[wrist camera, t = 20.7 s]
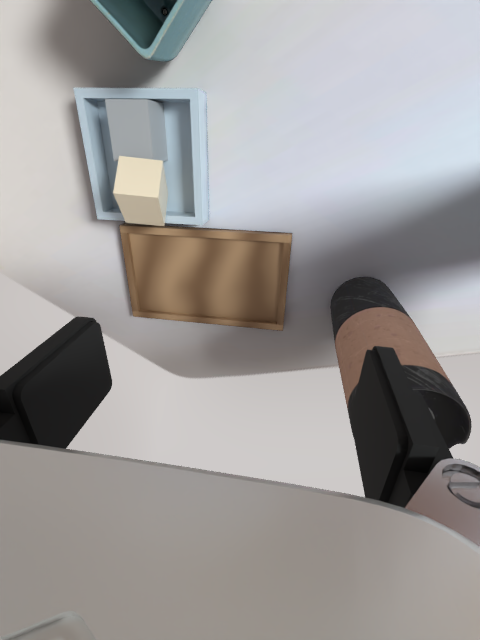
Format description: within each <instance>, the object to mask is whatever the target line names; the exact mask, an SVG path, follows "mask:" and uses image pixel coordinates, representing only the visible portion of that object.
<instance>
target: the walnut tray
mask: <svg viewBox="0 0 480 640" xmlns="http://www.w3.org/2000/svg"><path fill="white" fill-rule="evenodd" d="M119 227H120V234H121V240H122V247H123V253H124V260H125V266H126V273H127V279H128V286H129V292H130V299H131V306H132V312H133V316H135V317H145V318H156V319H166V320H176V321H187V322H197V323H208V324H218V325H228V326H239V327H249V328H260V329H270V330H281V331H283V323H284V313H285V303H286V292H287V282H288V272H289V261H290V251H291V241H292V233H281V232H264V231H246V230H229V229H212V228H195V227H178V226H157V225H144V224H127V223H124V224H121V225H119Z"/></svg>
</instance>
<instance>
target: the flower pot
mask: <svg viewBox="0 0 480 640" xmlns="http://www.w3.org/2000/svg"><path fill="white" fill-rule="evenodd" d="M90 1H91V2H92V3H93V4H94V5H95V6H96V8H97V9H98V10H99V11H100V12H101V13H102V14H103V15H104V16H105V17H106V18H107V19H108V20H109V21H110V22H111V24H112V25H113V26H114V27H115V28H116V29H117V30H118V31H119V32H120V33H121V35H122V36H123V37H124V38H125V39H126V40H127V41H128V42H129V43H130V44H131V46H132V47H133V48H134V49H135V50H136V51H137V52H138V54H139V55H141V56H142V57H143V58H144V59H148V60H156V61H170V60H172V59H174V58H175V57H176V56H177V55H178V53H179V52H180V50H181V49H182V47H183V46H184V44H185V42H186V41H187V39H188V38H189V36H190V34H191V33H192V31H193V30H194V28H195V26H196V25H197V23H198V22H199V20H200V19H201V17H202V15H203V14H204V12H205V11H206V9H207V7H208V6H209V4H210V3H211V1H212V0H90ZM163 8H166V9H167V15H163V13H162V10H163Z"/></svg>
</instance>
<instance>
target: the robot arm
mask: <svg viewBox="0 0 480 640" xmlns="http://www.w3.org/2000/svg"><path fill="white" fill-rule="evenodd" d="M111 386H112V379H111V374H110V369H109V365H108V360H107V355H106V350H105V346H104V341H103V336H102V331H101V327H100V324H99V323H97V322H96V320H95V319H93V318H87V317H75V318H74V319H73V320H71V321H70V322H69V323H68V324H66V325H65V326H64V327H62V328H61V329H60V330H59V331H57V332H56V333H55V334H53V335H52V336H51V337H50V338H48V339H47V340H46V341H45V342H43V343H42V344H41V345H39V346H38V347H37V348H36V349H34V350H33V351H32V352H31V353H29V354H28V355H27V356H25V357H24V358H23V359H22V360H20V361H19V362H18V363H17V364H15V365H14V366H13V367H12V368H10V369H9V370H8V371H6V372H5V373H4V374H2V375H1V376H0V640H480V467H478V466H476V465H474V464H472V463H470V462H467V461H464V460H461V459H453V457H452V455H451V453H450V451H449V449H448V447H447V445H446V443H445V440H444V438H443V436H442V434H441V432H440V430H439V428H438V426H437V424H436V422H435V420H434V418H433V416H432V414H431V412H430V410H429V408H428V406H427V404H426V402H425V400H424V398H423V396H422V394H421V393H420V392H419V391H417V390H413V389H412V387H411V385H410V382H409V380H408V378H407V376H406V374H405V372H404V369H403V367H402V365H401V363H400V361H399V359H398V356H397V354H396V352H395V350H394V348H392V347H382V346H374V347H373V349H372V350H367V351H366V354H365V358H364V362H363V366H362V370H361V374H360V378H359V382H358V386H357V390H356V394H355V398H354V402H353V406H352V411H351V424H352V429H353V434H354V439H355V445H356V450H357V455H358V461H359V466H360V471H361V476H362V482H363V487H364V492H365V498H364V497H360V496H355V495H351V494H346V493H340V492H335V491H329V490H323V489H317V488H312V487H306V486H301V485H295V484H289V483H283V482H277V481H271V480H264V479H258V478H251V477H245V476H239V475H233V474H226V473H221V472H214V471H207V470H202V469H195V468H189V467H182V466H176V465H169V464H162V463H157V462H149V461H143V460H137V459H130V458H124V457H117V456H111V455H104V454H97V453H90V452H84V451H77V450H70V449H66V448H67V446H68V445H69V444H70V442H71V441H72V440H73V438H74V437H75V435H77V433H78V432H79V431H80V429H81V428H82V427H83V425H84V424H85V423H86V421H87V420H88V419H89V417H90V416H91V415H92V413H93V412H94V411H95V410H96V408H97V407H98V406H99V404H100V403H101V401H102V400H103V399H104V398H105V396H106V395H107V394H108V392H109V391H110V389H111Z"/></svg>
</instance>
